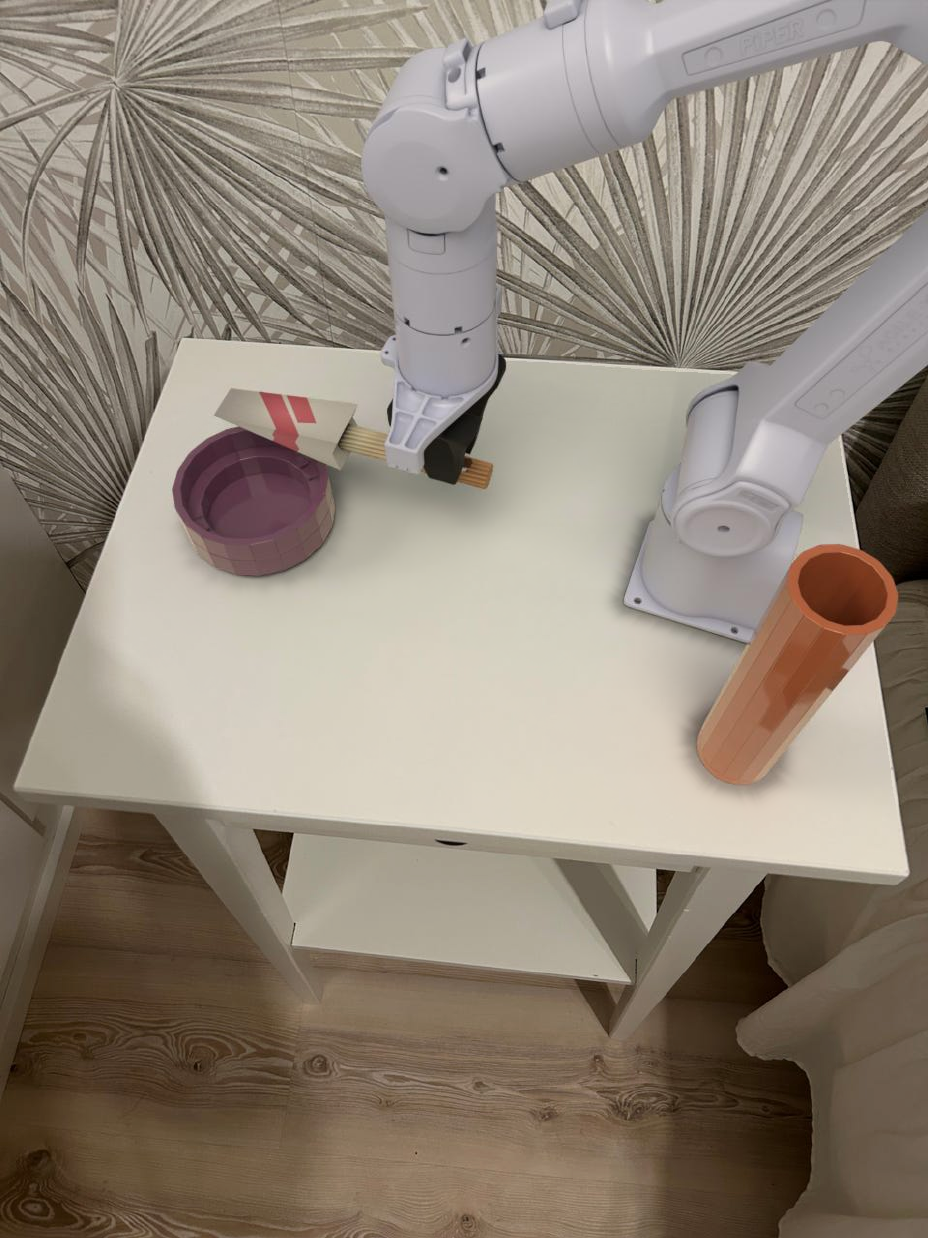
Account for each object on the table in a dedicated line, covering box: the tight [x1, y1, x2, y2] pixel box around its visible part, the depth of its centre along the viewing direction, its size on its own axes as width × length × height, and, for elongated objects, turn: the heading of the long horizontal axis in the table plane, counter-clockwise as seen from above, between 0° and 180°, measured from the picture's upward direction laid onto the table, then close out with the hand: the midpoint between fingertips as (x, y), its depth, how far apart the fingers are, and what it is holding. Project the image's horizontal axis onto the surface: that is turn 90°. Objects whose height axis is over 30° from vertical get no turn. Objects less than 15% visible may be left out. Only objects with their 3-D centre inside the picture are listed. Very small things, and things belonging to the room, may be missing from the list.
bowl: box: [171, 426, 336, 576], centre depth 67 cm, size 11×11×4 cm
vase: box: [696, 543, 899, 786], centre depth 50 cm, size 5×5×20 cm
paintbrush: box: [213, 387, 494, 490], centre depth 62 cm, size 4×3×20 cm
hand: (450, 461), depth 61 cm, fingers closed on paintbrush, 2 cm apart
